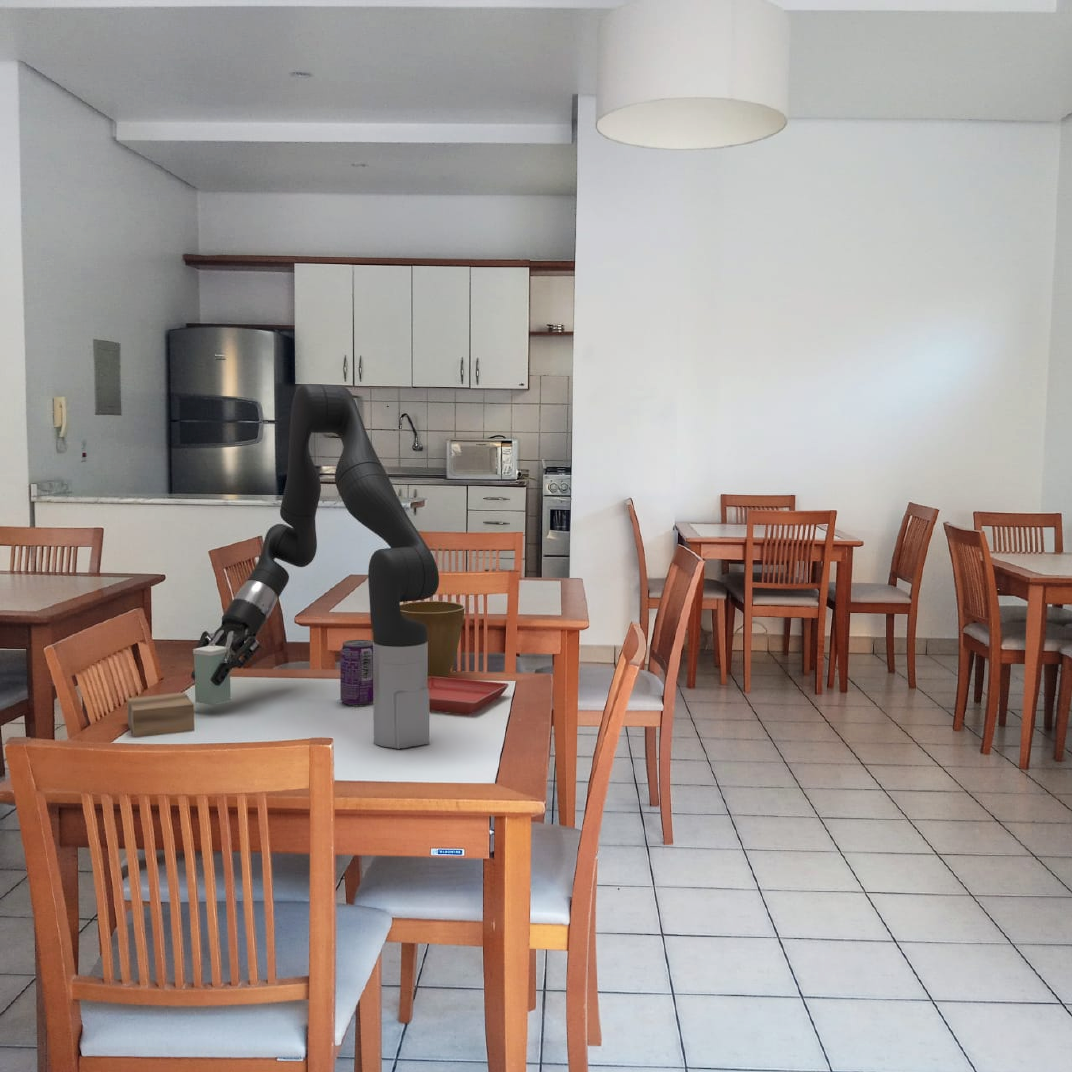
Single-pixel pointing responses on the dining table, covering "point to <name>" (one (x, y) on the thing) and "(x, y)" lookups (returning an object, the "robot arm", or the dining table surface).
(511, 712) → the dining table surface
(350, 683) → the beverage can
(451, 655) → the plant pot
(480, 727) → the dining table surface
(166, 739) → the dining table surface
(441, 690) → the plant saucer
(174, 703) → the walnut box
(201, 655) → the tea tin
